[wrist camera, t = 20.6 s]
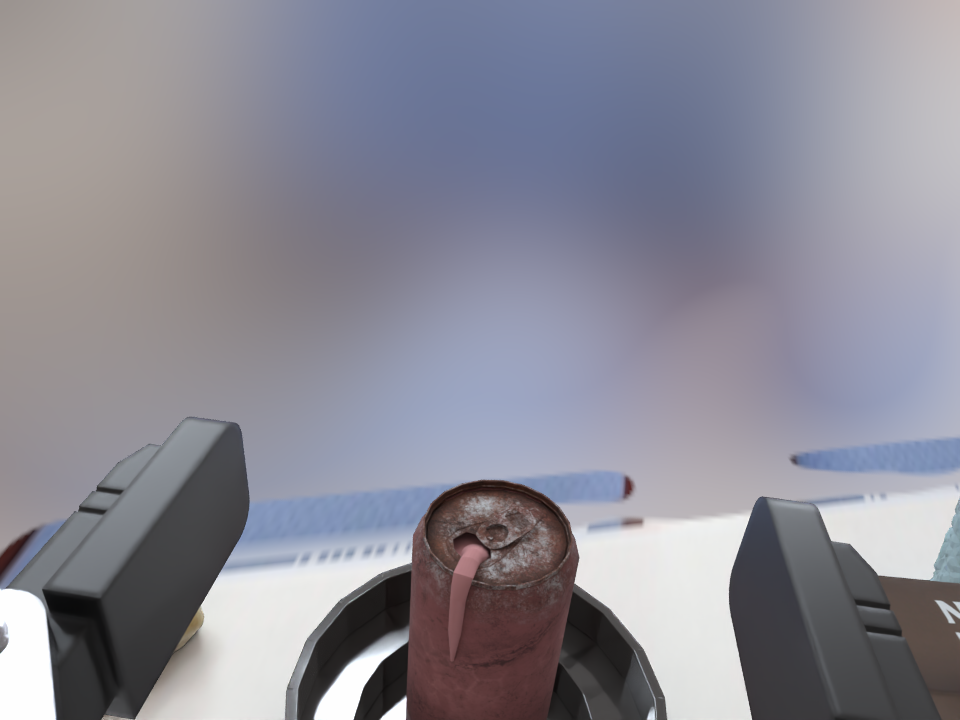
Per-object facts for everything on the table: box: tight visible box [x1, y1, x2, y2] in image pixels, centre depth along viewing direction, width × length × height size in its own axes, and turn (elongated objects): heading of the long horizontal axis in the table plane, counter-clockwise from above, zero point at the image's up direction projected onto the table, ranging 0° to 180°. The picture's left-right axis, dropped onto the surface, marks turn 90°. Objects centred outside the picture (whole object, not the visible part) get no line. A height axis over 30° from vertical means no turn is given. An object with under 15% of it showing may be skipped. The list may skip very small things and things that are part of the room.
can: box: [406, 480, 579, 720], centre depth 30 cm, size 6×6×14 cm
